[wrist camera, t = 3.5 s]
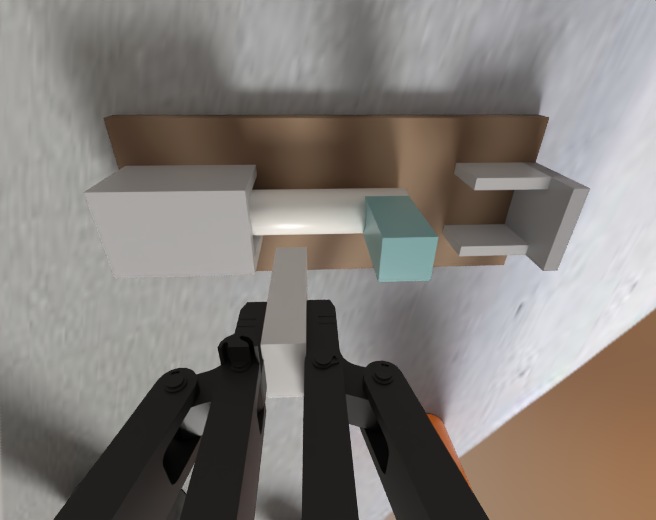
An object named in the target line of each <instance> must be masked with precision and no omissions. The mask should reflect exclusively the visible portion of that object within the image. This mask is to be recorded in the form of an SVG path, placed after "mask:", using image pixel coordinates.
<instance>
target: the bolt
mask: <svg viewBox="0 0 656 520" xmlns="http://www.w3.org/2000/svg"><path fill="white" fill-rule="evenodd" d="M248 200H249V209H250V217H251V226H252V235H301V234H353V233H363V236H364V239H365V242H366V245H367V248H368V251H369V254H370V258H371V261H372V264H373V267H374V270H375V273H376V276H377V279H378V282H399V281H430V280H431V274H432V269H433V264H434V258H435V253H436V248H437V242H438V236H437V234H436V233H435V231H434V230H433V229H432V227H431V226H430V225H429V223H428V222H427V220H426V219H425V218H424V216H423V215H422V213H421V212H420V211H419V209H418V208H417V207H416V205H415V204H414V202H413V201H412V200H411V198H410V197H409V195H408V192H407V190H406V188H349V189H268V190H251V193H250V196H249V198H248Z"/></svg>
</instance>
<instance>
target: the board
mask: <svg viewBox="0 0 656 520" xmlns="http://www.w3.org/2000/svg"><path fill="white" fill-rule="evenodd" d="M548 120H549V117H545V116H541V115H112V116H109V117H106V118H104V121H105V124H106V128H107V131H108V134H109V138H110V141H111V144H112V148H113V151H114V154H115V158H116V161H117V164H118V168H119V170H120V169H121V168H123V167H124V166H160V165H256V170H257V177H256V180H255V183H254V185H253V188H252V190H268V189H349V188H406V190H407V192H408V195H409V197H410V198H411V200H412V201H413V202H414V204H415V205H416V207H417V208H418V209H419V211H420V212H421V213H422V215H423V216H424V218H425V219H426V220H427V222H428V223H429V225H430V226H431V227H432V229H433V230H434V231H435V233H436V234H437V236H438V242H437V248H436V253H435V258H434V264H433V267H437V266H478V265H504V263H505V260H506V256H507V255H493V256H459V255H458V254H457V253H456V252H455V250H454V249H453V248H452V246H451V245H450V244H449V242H448V241H447V240H446V238H445V237H444V236H443V229H444V225H485V224H505V221H506V217H507V214H508V211H509V207H510V204H511V200H512V197H513V193H514V190H473V189H472V188H471V187H470V186H468V185H467V184H466V183H465V182H464V181H462V180H461V179H460V178H459V177H457V176H456V175H455V174H454V172H455V166H456V163H513V162H536V159H537V156H538V153H539V149H540V146H541V143H542V140H543V136H544V133H545V130H546V127H547V123H548ZM297 247H307V270H315V269H356V268H374V267H373V264H372V261H371V258H370V254H369V251H368V248H367V245H366V242H365V239H364V236H363V233H353V234H301V235H263V240H262V245H261V249H260V254H259V259H258V263H257V268H256V271H272V270H273V263H274V257H275V251H276V248H297Z"/></svg>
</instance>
